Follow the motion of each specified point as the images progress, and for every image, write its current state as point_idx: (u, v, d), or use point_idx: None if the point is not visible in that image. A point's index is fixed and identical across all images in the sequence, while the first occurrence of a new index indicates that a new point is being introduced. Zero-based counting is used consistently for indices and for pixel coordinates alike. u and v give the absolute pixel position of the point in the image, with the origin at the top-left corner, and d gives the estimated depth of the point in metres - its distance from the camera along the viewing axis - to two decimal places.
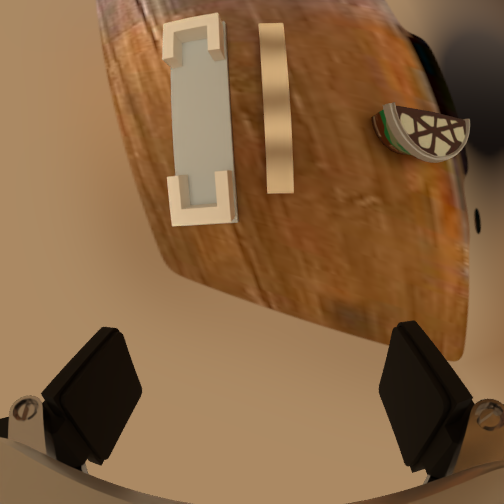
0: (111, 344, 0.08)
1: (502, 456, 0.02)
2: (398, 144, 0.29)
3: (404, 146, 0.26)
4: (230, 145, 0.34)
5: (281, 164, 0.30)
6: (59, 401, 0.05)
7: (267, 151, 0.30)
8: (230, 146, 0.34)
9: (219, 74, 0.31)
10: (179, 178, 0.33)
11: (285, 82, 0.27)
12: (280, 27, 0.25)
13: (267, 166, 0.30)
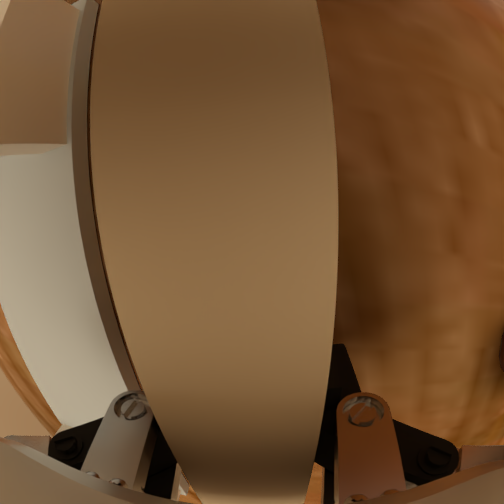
0: None
1: (359, 456, 0.04)
2: None
3: None
4: None
5: None
6: None
7: None
8: None
9: (56, 209, 0.08)
10: None
11: (299, 422, 0.04)
12: None
13: None
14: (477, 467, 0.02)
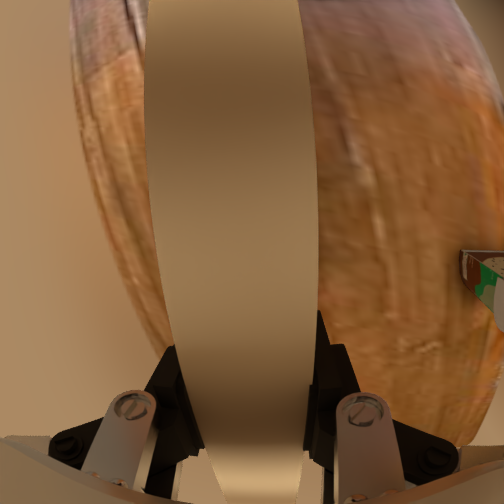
0: None
1: (358, 456, 0.04)
2: (488, 306, 0.19)
3: (499, 326, 0.16)
4: None
5: None
6: (175, 390, 0.06)
7: (230, 499, 0.08)
8: None
9: None
10: None
11: (296, 364, 0.06)
12: None
13: None
14: (477, 467, 0.02)
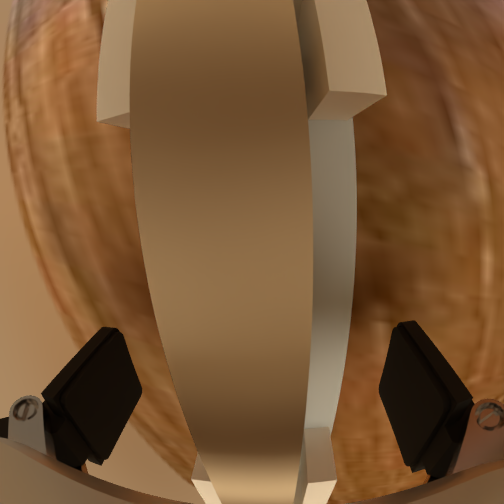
0: (111, 344, 0.08)
1: (502, 456, 0.02)
2: None
3: None
4: (336, 390, 0.13)
5: None
6: (59, 401, 0.05)
7: None
8: (336, 391, 0.13)
9: (328, 179, 0.10)
10: None
11: (290, 387, 0.05)
12: None
13: None
14: (477, 467, 0.02)
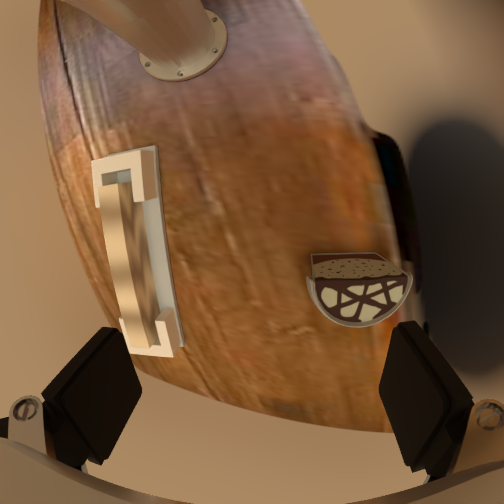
0: (111, 344, 0.08)
1: (502, 456, 0.02)
2: None
3: None
4: (170, 287, 0.38)
5: (135, 327, 0.34)
6: (59, 401, 0.05)
7: (123, 317, 0.34)
8: (170, 287, 0.38)
9: (153, 215, 0.35)
10: None
11: (125, 257, 0.31)
12: (115, 190, 0.29)
13: (126, 328, 0.34)
14: (477, 467, 0.02)
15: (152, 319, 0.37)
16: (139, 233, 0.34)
